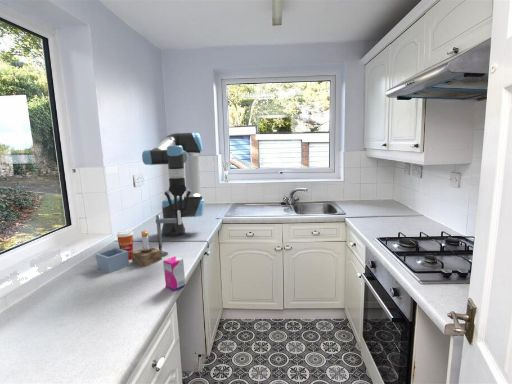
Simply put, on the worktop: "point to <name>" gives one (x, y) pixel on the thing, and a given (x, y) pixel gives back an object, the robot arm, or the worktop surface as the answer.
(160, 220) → the grey tall angled piece
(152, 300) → the worktop surface
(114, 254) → the blue open box
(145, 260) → the socket block
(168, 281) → the supplement box
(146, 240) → the pin
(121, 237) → the paper cup
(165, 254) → the base
